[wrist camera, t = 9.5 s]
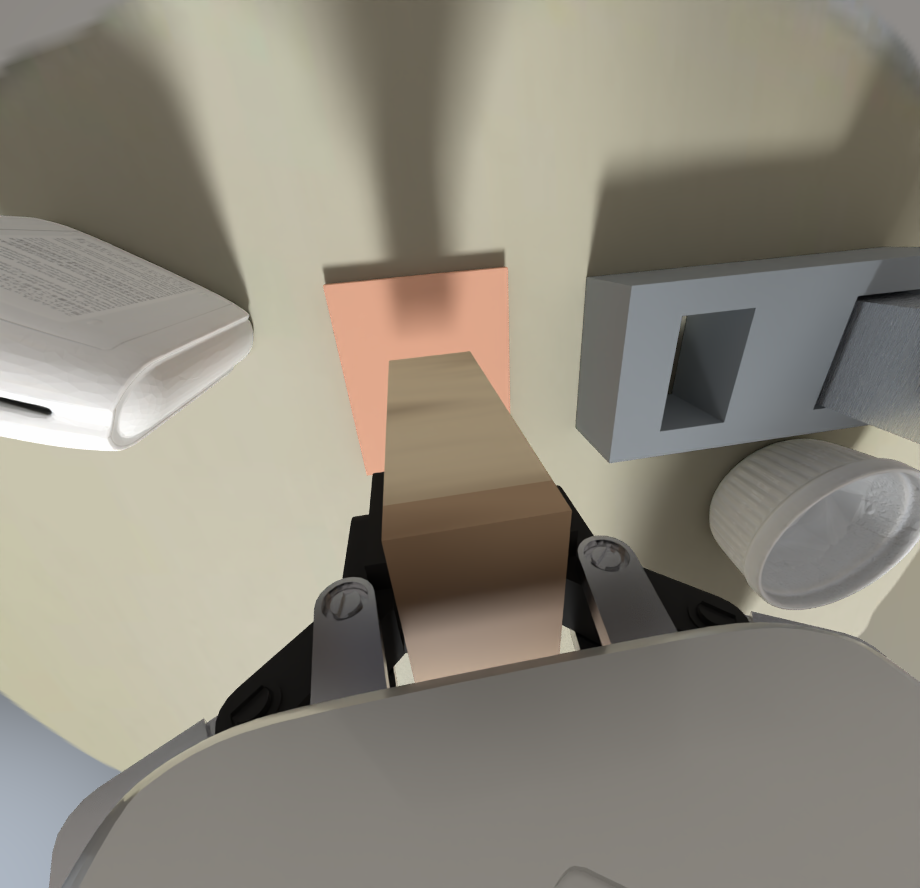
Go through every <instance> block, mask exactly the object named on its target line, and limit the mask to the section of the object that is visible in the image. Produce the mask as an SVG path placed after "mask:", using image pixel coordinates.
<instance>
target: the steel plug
mask: <svg viewBox="0 0 920 888" xmlns="http://www.w3.org/2000/svg"><path fill="white" fill-rule="evenodd" d="M816 404H818V405H821V406H824V407H826V408H829V409H831V410H834V411H836V412H839V413H842V414H844V415H847V416H849V417H852V418H854V419H857V420H859V421H862V422H865V423H867V424H870V425H872V426H875V427H877V428H880V429H883V430H885V431H888V432H890V433H893V434H895V435H898V436H901V437H903V438H906V439H908V440H911V441H913V442H916V443H918V444H920V295H915V294H906V293H896V292H889V293H880V294H871V295H862V296H858V297H857V300H856V302H855V305H854V307H853V310H852V312H851V315H850V317H849V320H848V323H847V325H846V328H845V330H844V333H843V335H842V338H841V340H840V343H839V345H838V348H837V350H836V353H835V355H834V358H833V361H832V363H831V366H830V368H829V371H828V373H827V376H826V378H825V381H824V383H823V386H822V388H821V391H820V394H819V396H818V399H817V401H816Z"/></svg>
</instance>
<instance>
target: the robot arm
mask: <svg viewBox="0 0 920 888" xmlns="http://www.w3.org/2000/svg"><path fill="white" fill-rule="evenodd" d="M557 488H558V489H559V491H560V493H561V494H562V496H563V497H564V499H565V500H566V502H567V504H568V505H569V507H570V508H571V510H572V515H571V526H570V538H569V549H568V561H567V572H566V584H565V595H564V607H563V618H562V625H563V626H565V627H567V628H569V629H570V632H571V638H572V641H573V645H574V648H575V651H573V652H568V653H563V654H558V655H553V656H548V657H543V658H538V659H532V660H527V661H522V662H517V663H512V664H507V665H502V666H497V667H492V668H487V669H482V670H477V671H472V672H467V673H462V674H456V675H452V676H447V677H442V678H437V679H432V680H427V681H422V682H417V683H412V684H407V685H402V686H398V684H397V677H396V671H395V664H396V663H397V662H398V661H399V660H400V659H401V657H402V656H403V655H404V654H405V653H408V651H407V647H406V643H405V638H404V634H403V630H402V626H401V622H400V617H399V613H398V609H397V605H396V600H395V596H394V592H393V588H392V583H391V579H390V575H389V571H388V567H387V562H386V558H385V554H384V550H383V545H382V541H381V540H382V516H383V492H384V472H378V473H373V477H372V488H371V499H370V510H369V515H362V516H356V517H353V518H352V520H351V526H350V533H349V539H348V546H347V552H346V559H345V565H344V572H343V579H341V580H338V581H336V582H334V583H332V584H331V585H329V586H328V587H327V588H326V589H325V590H324V591H323V592H322V593H321V594H320V595H319V597H318V599H317V600H316V603H315V608H314V622H313V623H311V624H310V625H309V626H308V627H307V628H306V629H305V630H303V631H302V632H301V633H300V634H299V635H298V636H297V637H295V638H294V639H293V640H292V641H291V642H290V643H289V644H287V645H286V646H285V647H284V648H283V649H282V650H281V651H279V652H278V653H277V654H276V655H275V656H274V657H273V658H271V659H270V660H269V661H268V662H267V663H266V664H265V665H263V666H262V667H261V668H260V669H259V670H258V671H257V672H255V673H254V674H253V675H252V676H251V677H250V678H249V679H247V680H246V681H245V682H244V683H243V684H242V685H241V686H239V687H238V688H237V689H236V690H235V691H234V692H233V693H232V694H231V695H230V696H229V697H228V699H227V700H226V702H225V703H224V705H223V706H222V708H221V709H220V711H219V714H218V716H216V717H215V718H213V719H212V720H210V721H209V722H206V720H205V719H202V720H201V721H199V722H198V723H196V724H195V725H193V726H192V727H190V728H189V729H187V730H186V731H184V732H183V733H181V734H179V735H178V736H176V737H175V738H173V739H172V740H170V741H169V742H167V743H166V744H164V745H163V746H161V747H160V748H158V749H157V750H155V751H154V752H152V753H151V754H149V755H147V756H146V757H144V758H143V759H141V760H140V761H138V762H137V763H135V764H134V765H132V766H131V767H129V768H128V769H126V770H125V771H123V772H122V773H120V774H119V775H117V776H115V777H114V778H112V779H111V780H110V781H108V782H107V783H105V784H103V785H102V786H100V787H99V788H97V789H96V790H95V791H94V792H92V793H91V794H90V795H89V796H88V797H86V798H85V799H84V800H83V801H82V802H81V803H80V804H79V805H78V806H77V808H76V809H75V810H74V811H73V812H72V813H71V814H70V816H69V817H68V818H67V820H66V822H65V823H64V825H63V827H62V828H61V830H60V832H59V833H58V835H57V839H56V842H55V845H54V849H53V854H52V863H51V873H50V884H49V888H920V682H919V681H918V680H917V679H915V678H914V677H913V676H911V675H910V674H909V673H908V672H906V671H905V670H904V669H902V668H901V667H899V666H898V665H897V664H895V663H894V662H892V661H891V660H889V659H888V658H887V657H886V656H885V655H883V654H882V653H881V652H880V651H878V650H877V649H876V648H875V647H874V646H872V645H870V644H868V643H867V642H865V641H863V640H861V639H859V638H857V637H854V636H851V635H848V634H845V633H841V632H837V631H833V630H829V629H824V628H820V627H816V626H812V625H807V624H803V623H799V622H794V621H790V620H786V619H782V618H777V617H773V616H769V615H765V614H760V613H756V612H752V611H751V613H750V615H749V616H747V615H744V614H743V613H742V612H741V611H740V610H739V609H738V608H737V607H736V606H734V605H733V604H731V603H730V602H728V601H726V600H724V599H722V598H720V597H718V596H715V595H713V594H710V593H707V592H705V591H702V590H700V589H697V588H694V587H692V586H689V585H687V584H684V583H682V582H679V581H676V580H674V579H671V578H669V577H666V576H663V575H661V574H658V573H656V572H653V571H651V570H648V569H645V568H643V567H642V566H641V564H640V562H639V560H638V558H637V557H636V555H635V553H634V552H633V550H632V549H631V548H630V547H629V546H628V545H627V544H625V543H624V542H622V541H620V540H618V539H616V538H613V537H609V536H594V535H593V534H592V532H591V531H590V529H589V528H588V526H587V525H586V523H585V522H584V520H583V519H582V517H581V516H580V514H579V513H578V511H577V510H576V508H575V507H574V505H573V504H572V502H571V501H570V499H569V498H568V496H567V495H566V493H565V492H564V490H563V489H562V488H561V487H560V486H558V485H557Z"/></svg>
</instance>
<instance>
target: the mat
mask: <svg viewBox="0 0 920 888" xmlns="http://www.w3.org/2000/svg"><path fill="white" fill-rule="evenodd" d="M323 287H324V292H325V296H326V300H327V305H328V309H329V313H330V318H331V322H332V326H333V331H334V335H335V339H336V343H337V348H338V352H339V356H340V361H341V365H342V369H343V374H344V378H345V382H346V387H347V391H348V395H349V400H350V404H351V408H352V413H353V417H354V421H355V426H356V430H357V434H358V439H359V443H360V447H361V452H362V456H363V460H364V465H365V469H366V473H367V475H373V473H378V472H384V467H385V443H386V419H387V394H388V370H389V361H390V360H399V359H407V358H416V357H424V356H433V355H441V354H450V353H458V352H467V351H470V352H471V354H472V355H473V357H474V358H475V360H476V361H477V363H478V364H479V366H480V368H481V369H482V371H483V372H484V374H485V375H486V377H487V379H488V380H489V382H490V383H491V385H492V386H493V388H494V389H495V391H496V393H497V394H498V396H499V397H500V399H501V400H502V402H503V404H504V405H505V407H506V408H507V410H508V411H509V413H510V372H509V312H508V268H507V267H496V268H486V269H476V270H465V271H455V272H445V273H434V274H424V275H414V276H403V277H393V278H383V279H373V280H362V281H352V282H342V283H331V284H325V285H323Z"/></svg>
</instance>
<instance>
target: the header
mask: <svg viewBox="0 0 920 888" xmlns="http://www.w3.org/2000/svg"><path fill="white" fill-rule="evenodd" d="M889 292H896V293H906V294H915V295H920V247H879V248H869V249H859V250H849V251H839V252H830V253H820V254H810V255H800V256H790V257H780V258H771V259H761V260H751V261H741V262H731V263H721V264H712V265H702V266H692V267H682V268H672V269H662V270H653V271H643V272H633V273H623V274H613V275H603V276H593V277H587V281H586V294H585V308H584V321H583V335H582V348H581V362H580V375H579V389H578V402H577V416H576V429H577V430H578V431H579V432H580V433H581V434H582V435H583V436H584V437H585V438H586V439H587V440H588V441H589V442H590V444H591V445H592V446H593V447H594V448H595V449H596V450H597V451H598V452H599V453H600V454H601V455H602V456H603V457H604V458H605V459H606V460H607V461H608V462H609V463H614V462H621V461H628V460H634V459H641V458H648V457H655V456H661V455H668V454H675V453H682V452H689V451H695V450H702V449H709V448H716V447H722V446H729V445H736V444H743V443H749V442H756V441H763V440H770V439H776V438H783V437H790V436H797V435H803V434H810V433H817V432H824V431H830V430H837V429H844V428H851V427H857V426H864V425H870V424H867V423H865V422H862V421H859V420H857V419H854V418H852V417H849V416H847V415H844V414H842V413H839V412H836V411H834V410H831V409H829V408H826V407H824V406H821V405H818V404H816V401H817V399H818V396H819V394H820V391H821V388H822V386H823V383H824V381H825V378H826V376H827V373H828V371H829V368H830V366H831V363H832V361H833V358H834V355H835V353H836V350H837V348H838V345H839V343H840V340H841V338H842V335H843V333H844V330H845V328H846V325H847V323H848V320H849V317H850V315H851V312H852V310H853V307H854V305H855V302H856V300H857V297H858V296H862V295H871V294H880V293H889ZM682 316H687V320H686V325H685V330H684V335H683V340H682V345H681V350H680V355H679V360H678V365H677V370H676V375H675V380H674V386H673V391H672V394H667V392H668V387H669V382H670V377H671V372H672V366H673V361H674V356H675V351H676V346H677V340H678V335H679V330H680V325H681V320H682Z"/></svg>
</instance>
